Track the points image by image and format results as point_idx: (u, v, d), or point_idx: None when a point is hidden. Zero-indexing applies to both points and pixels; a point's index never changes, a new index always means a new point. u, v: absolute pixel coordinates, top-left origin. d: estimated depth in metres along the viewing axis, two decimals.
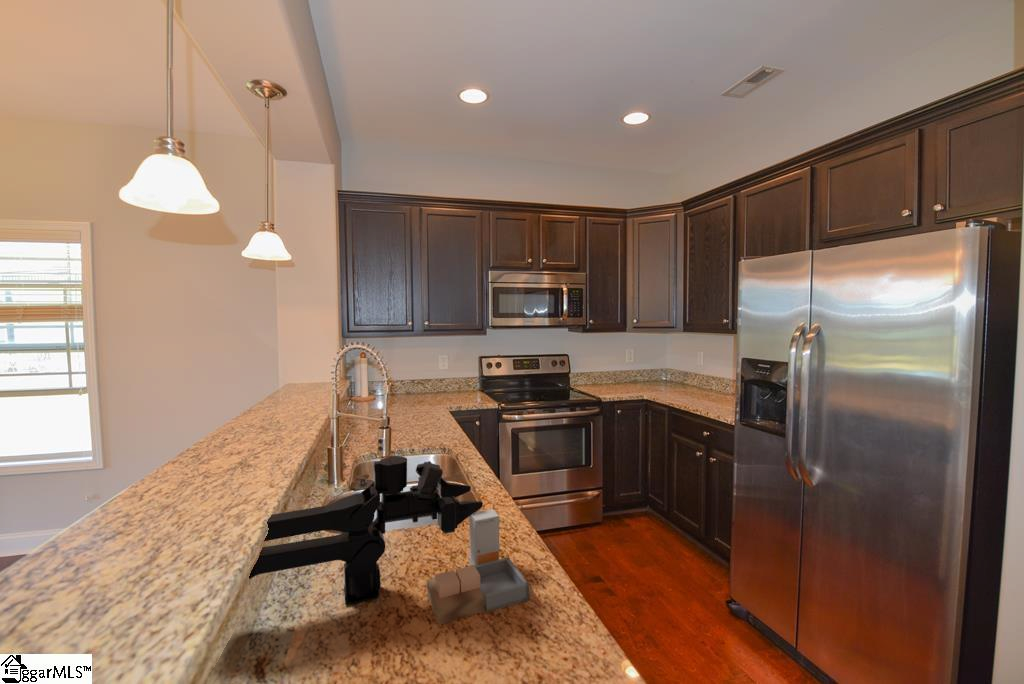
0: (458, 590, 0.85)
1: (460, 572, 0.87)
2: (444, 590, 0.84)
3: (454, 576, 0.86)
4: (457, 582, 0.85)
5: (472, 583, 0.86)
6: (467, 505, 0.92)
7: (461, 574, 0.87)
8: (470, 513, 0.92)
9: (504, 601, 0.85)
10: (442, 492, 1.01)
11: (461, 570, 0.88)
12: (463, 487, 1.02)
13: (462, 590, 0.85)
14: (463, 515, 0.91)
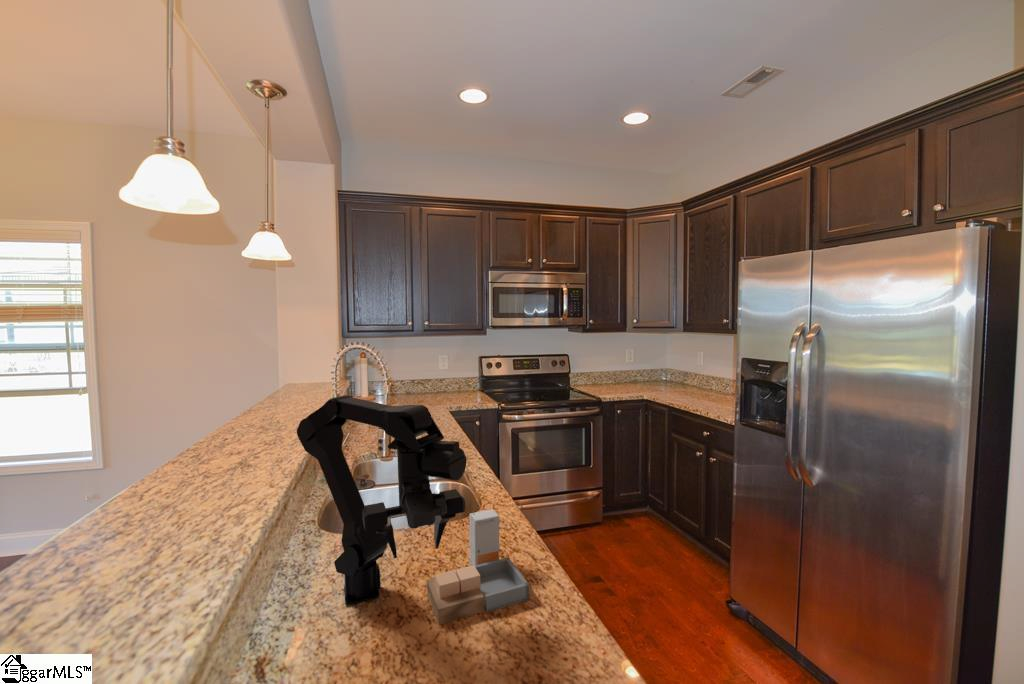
0: (458, 590, 0.85)
1: (460, 572, 0.87)
2: (444, 590, 0.84)
3: (454, 576, 0.86)
4: (457, 582, 0.85)
5: (472, 583, 0.86)
6: (388, 541, 0.80)
7: (461, 574, 0.87)
8: None
9: (504, 601, 0.85)
10: None
11: (461, 570, 0.88)
12: (436, 540, 0.84)
13: (462, 590, 0.85)
14: None
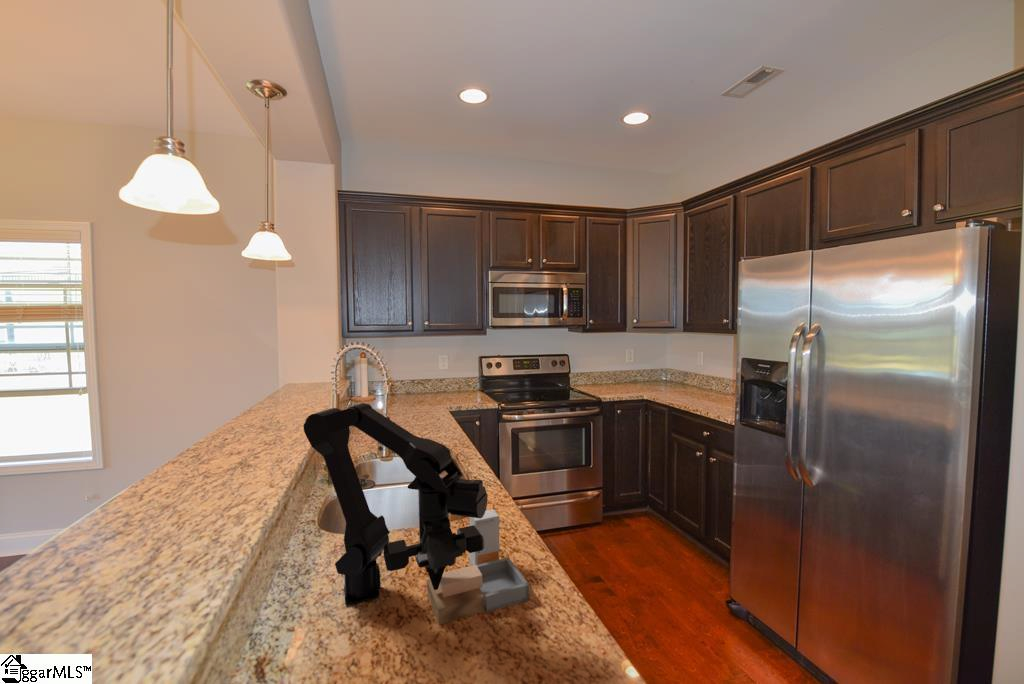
0: (461, 589, 0.85)
1: (462, 572, 0.88)
2: (448, 589, 0.84)
3: (458, 575, 0.86)
4: (460, 581, 0.85)
5: (474, 583, 0.86)
6: (428, 573, 0.83)
7: (464, 574, 0.87)
8: None
9: (504, 601, 0.85)
10: None
11: (463, 570, 0.88)
12: None
13: (464, 590, 0.85)
14: None
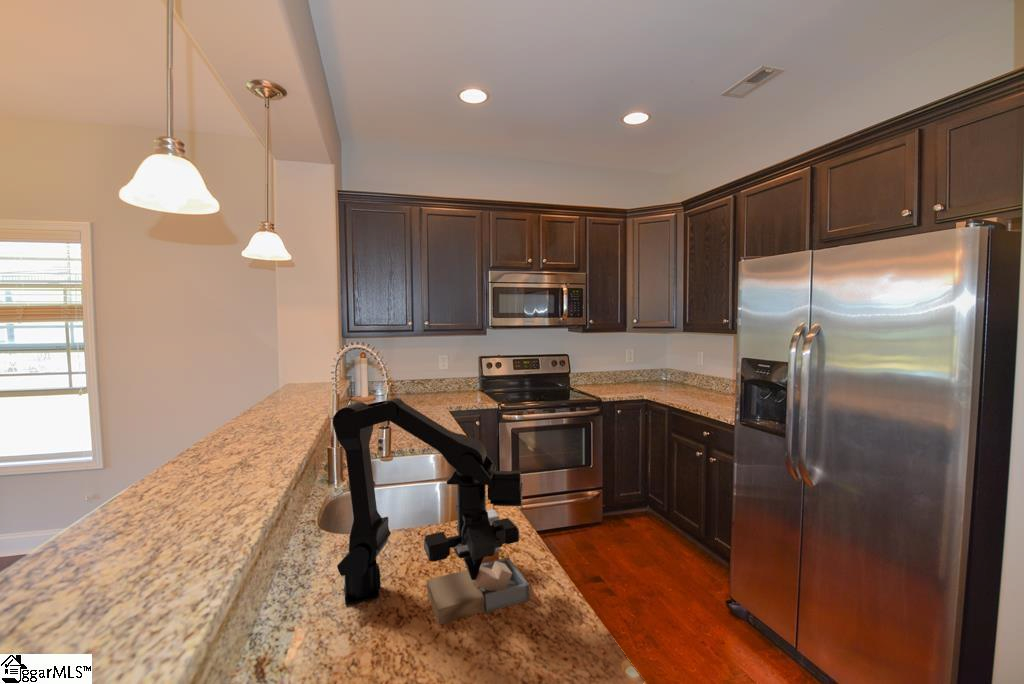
0: (493, 588, 0.88)
1: None
2: (483, 581, 0.87)
3: (493, 574, 0.90)
4: (496, 580, 0.88)
5: (502, 583, 0.88)
6: (466, 564, 0.86)
7: None
8: (465, 562, 0.89)
9: (504, 601, 0.85)
10: None
11: None
12: None
13: (503, 572, 0.88)
14: None
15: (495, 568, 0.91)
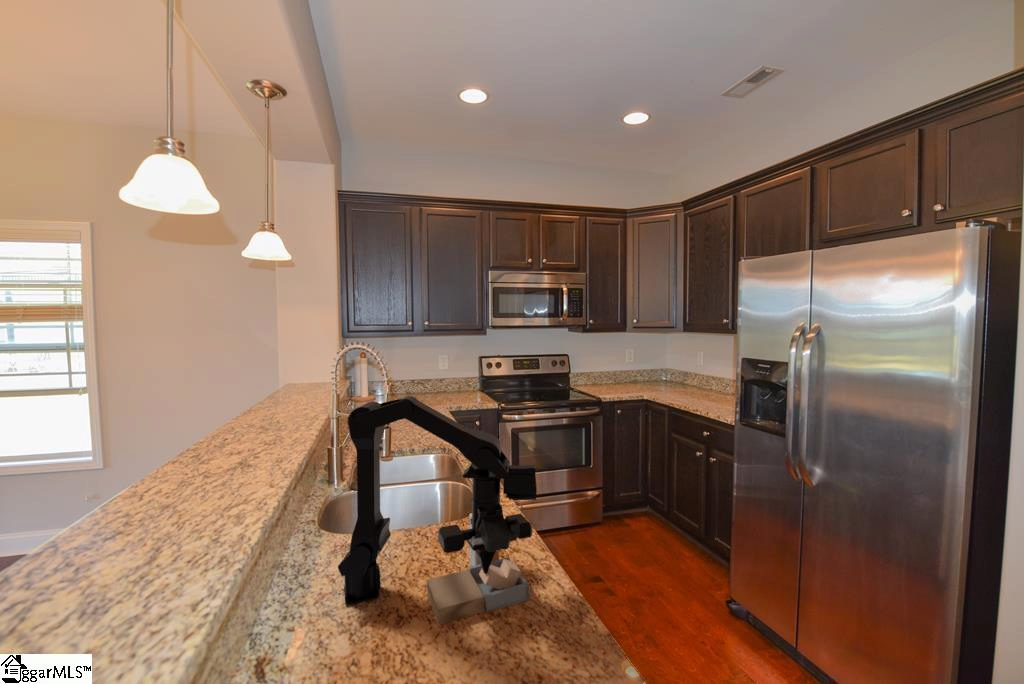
0: (501, 586, 0.88)
1: None
2: (492, 579, 0.88)
3: (501, 572, 0.90)
4: (504, 578, 0.89)
5: (511, 580, 0.89)
6: (480, 557, 0.88)
7: None
8: (478, 556, 0.90)
9: (504, 601, 0.85)
10: None
11: None
12: None
13: (511, 570, 0.89)
14: None
15: (503, 566, 0.91)
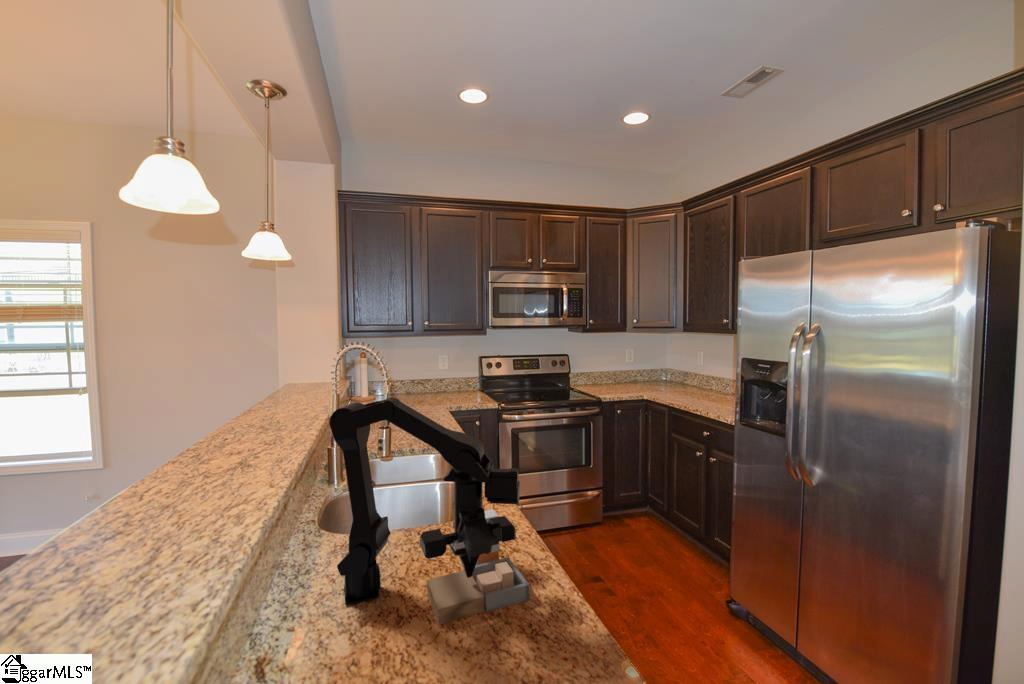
0: None
1: None
2: (487, 590, 0.87)
3: (495, 576, 0.90)
4: (499, 582, 0.88)
5: (507, 583, 0.89)
6: (462, 562, 0.86)
7: None
8: None
9: (504, 601, 0.85)
10: None
11: None
12: None
13: (503, 575, 0.88)
14: None
15: (497, 571, 0.91)
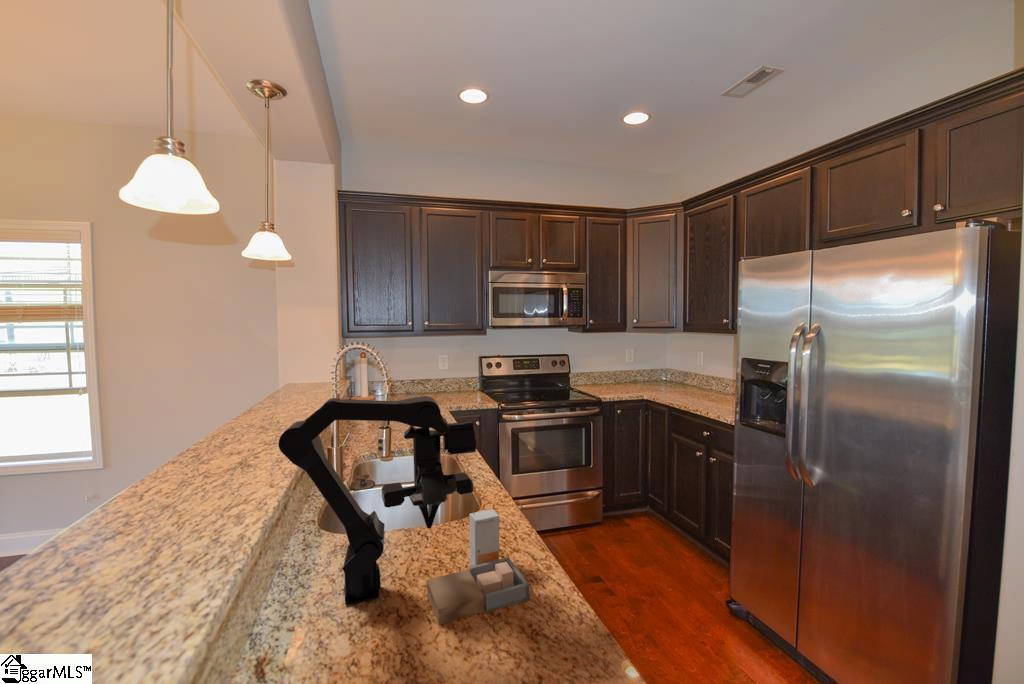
0: None
1: None
2: (487, 590, 0.87)
3: (495, 576, 0.90)
4: (499, 582, 0.88)
5: (507, 583, 0.89)
6: (422, 513, 0.92)
7: None
8: (421, 512, 0.94)
9: (504, 601, 0.85)
10: None
11: None
12: (429, 520, 0.93)
13: (503, 575, 0.88)
14: None
15: (497, 571, 0.91)
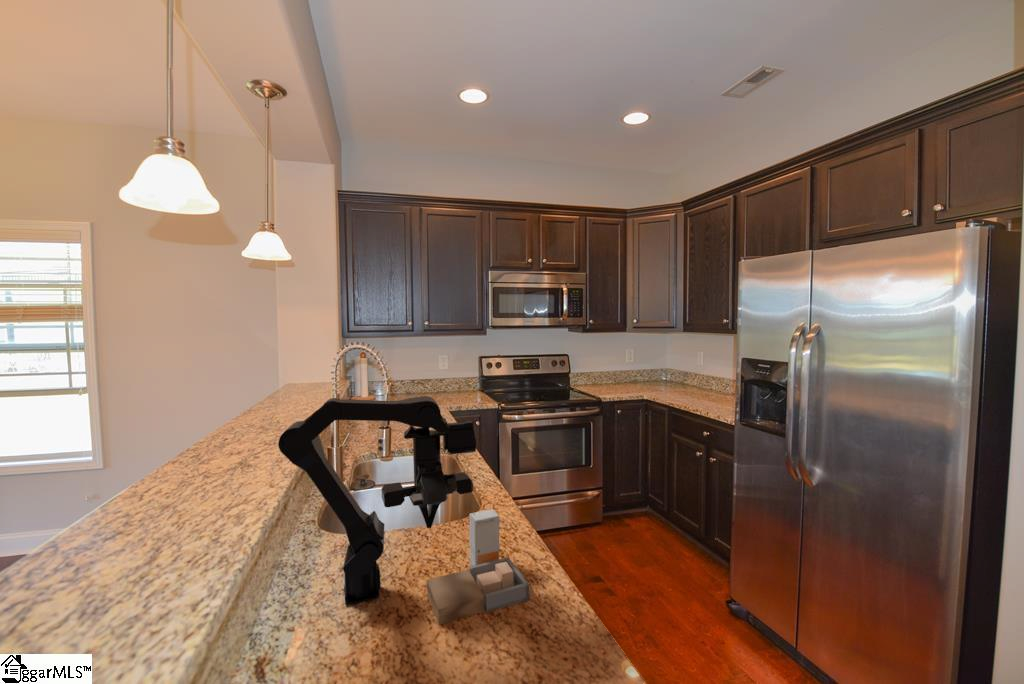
0: None
1: None
2: (487, 590, 0.87)
3: (495, 576, 0.90)
4: (499, 582, 0.88)
5: (507, 583, 0.89)
6: (422, 513, 0.92)
7: None
8: (421, 512, 0.94)
9: (504, 601, 0.85)
10: None
11: None
12: (429, 520, 0.93)
13: (503, 575, 0.88)
14: None
15: (497, 571, 0.91)
